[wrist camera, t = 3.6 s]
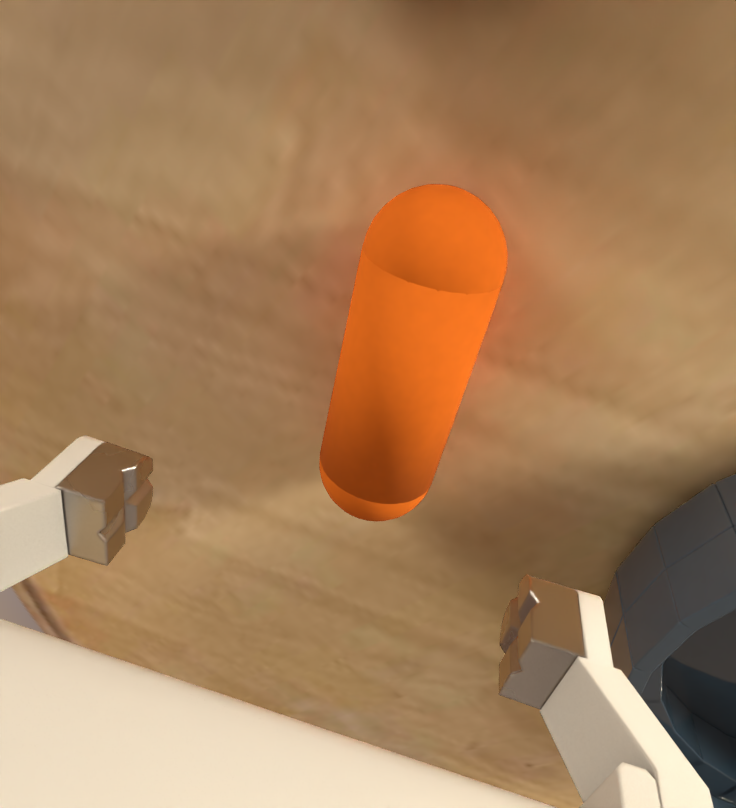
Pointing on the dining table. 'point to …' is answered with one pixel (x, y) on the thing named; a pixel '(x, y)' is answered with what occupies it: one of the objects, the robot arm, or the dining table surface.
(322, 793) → the robot arm
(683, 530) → the bowl
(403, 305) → the carrot
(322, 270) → the dining table surface
